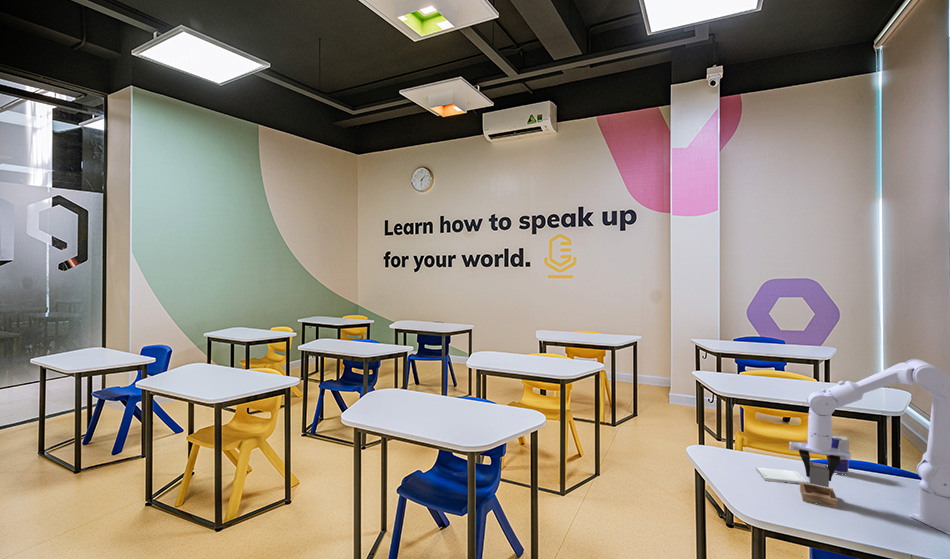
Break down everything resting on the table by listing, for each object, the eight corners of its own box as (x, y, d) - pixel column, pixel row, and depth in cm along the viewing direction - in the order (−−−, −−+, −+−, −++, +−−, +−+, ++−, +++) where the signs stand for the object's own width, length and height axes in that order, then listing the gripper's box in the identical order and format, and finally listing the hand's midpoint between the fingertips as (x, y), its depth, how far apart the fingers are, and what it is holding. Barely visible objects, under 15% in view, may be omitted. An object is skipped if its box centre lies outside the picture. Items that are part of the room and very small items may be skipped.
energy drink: (826, 472, 155) (827, 437, 155) (829, 467, 159) (830, 433, 158) (846, 477, 151) (848, 441, 151) (849, 472, 155) (850, 437, 155)
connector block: (826, 481, 138) (826, 462, 138) (828, 487, 134) (829, 468, 134) (807, 477, 140) (808, 459, 140) (809, 483, 136) (810, 465, 136)
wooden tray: (832, 496, 139) (832, 488, 139) (837, 508, 132) (837, 500, 132) (799, 489, 143) (800, 482, 143) (802, 501, 136) (803, 493, 136)
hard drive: (764, 477, 149) (808, 481, 146) (755, 466, 157) (796, 470, 154) (764, 482, 149) (808, 486, 146) (755, 471, 157) (796, 475, 154)
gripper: (847, 433, 136) (846, 478, 137) (789, 424, 144) (787, 467, 144) (852, 441, 130) (851, 488, 131) (791, 431, 138) (789, 475, 138)
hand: (818, 477), depth 137 cm, fingers closed on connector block, 4 cm apart
